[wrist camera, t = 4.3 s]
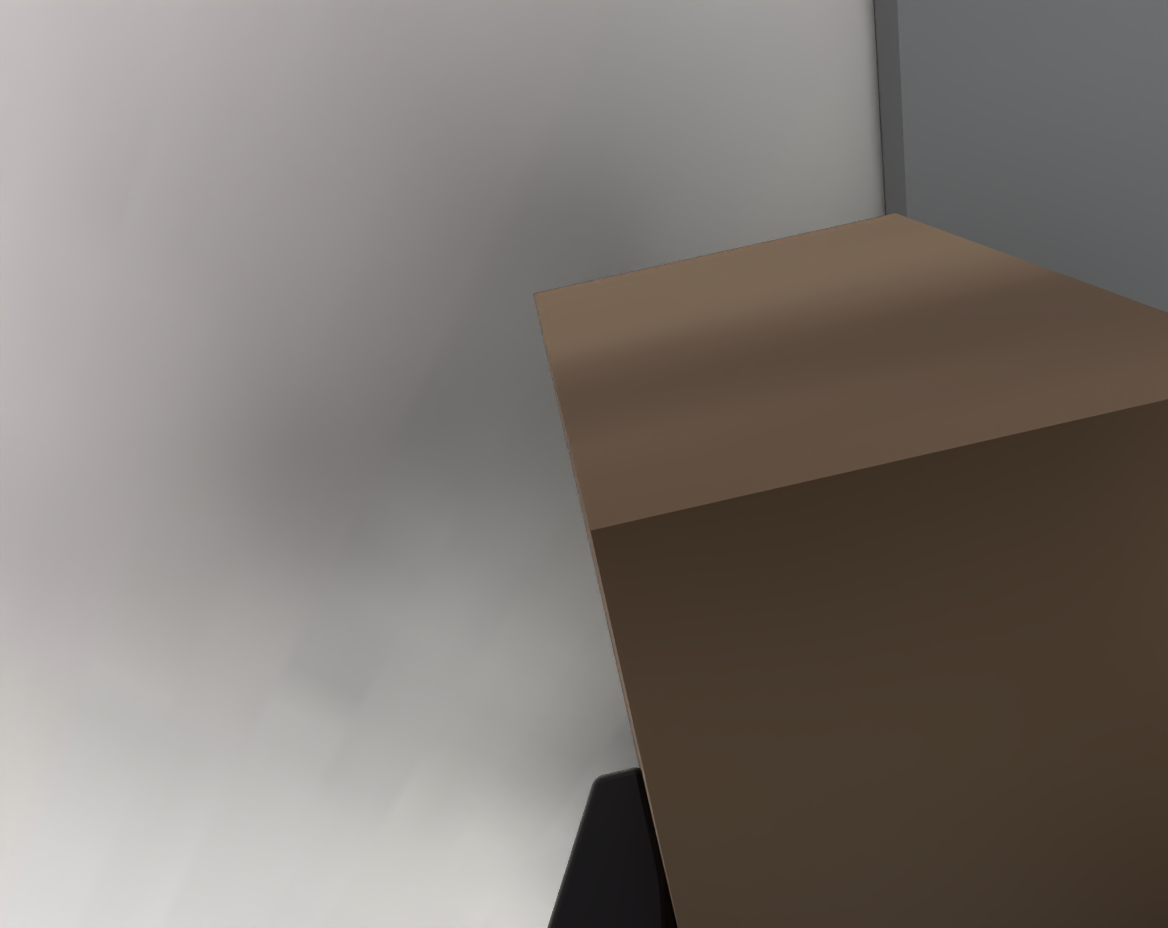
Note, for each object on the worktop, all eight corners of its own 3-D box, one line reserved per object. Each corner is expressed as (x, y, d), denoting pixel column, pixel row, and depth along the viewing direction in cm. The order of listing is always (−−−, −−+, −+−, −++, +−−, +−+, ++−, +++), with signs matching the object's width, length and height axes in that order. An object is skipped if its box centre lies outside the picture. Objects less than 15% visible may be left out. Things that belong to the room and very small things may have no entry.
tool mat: (1475, -265, 13) (1533, -284, 12) (1272, 856, 23) (1298, 882, 22) (867, -130, 13) (890, -142, 12) (926, 939, 22) (940, 968, 22)
